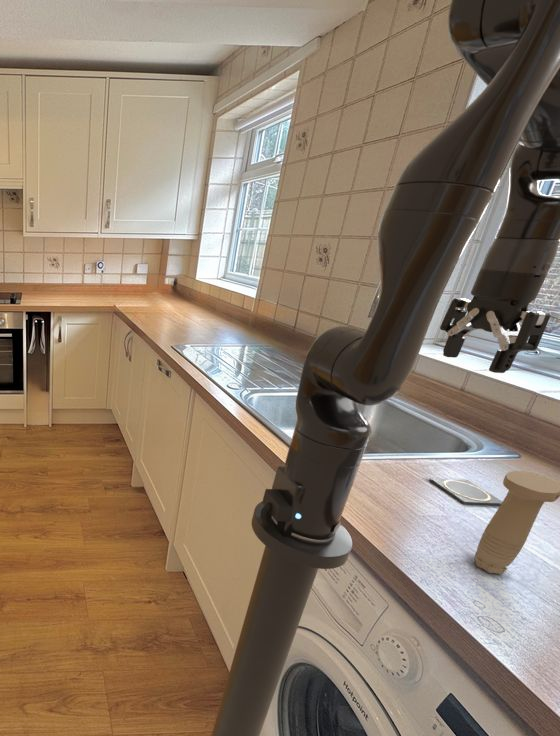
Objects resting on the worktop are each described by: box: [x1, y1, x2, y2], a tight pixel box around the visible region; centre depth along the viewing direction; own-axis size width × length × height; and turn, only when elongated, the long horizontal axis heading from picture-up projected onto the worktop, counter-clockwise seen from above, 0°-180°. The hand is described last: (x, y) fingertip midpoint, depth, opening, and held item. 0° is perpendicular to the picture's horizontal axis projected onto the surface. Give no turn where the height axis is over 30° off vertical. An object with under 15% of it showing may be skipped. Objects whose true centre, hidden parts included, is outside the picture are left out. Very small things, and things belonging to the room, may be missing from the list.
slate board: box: [429, 478, 503, 507], centre depth 78 cm, size 8×8×1 cm
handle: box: [473, 470, 560, 575], centre depth 58 cm, size 5×6×15 cm
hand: (471, 364), depth 72 cm, fingers open, 8 cm apart
